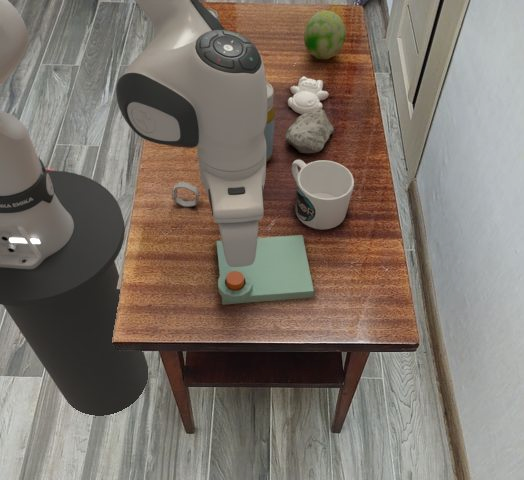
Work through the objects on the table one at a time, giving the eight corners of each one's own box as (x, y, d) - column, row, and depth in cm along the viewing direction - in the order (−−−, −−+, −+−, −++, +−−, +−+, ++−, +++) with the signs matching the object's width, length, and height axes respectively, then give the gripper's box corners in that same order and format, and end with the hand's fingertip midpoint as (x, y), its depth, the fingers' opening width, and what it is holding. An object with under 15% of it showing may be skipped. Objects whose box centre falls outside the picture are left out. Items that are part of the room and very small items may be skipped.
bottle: (277, 150, 116) (281, 84, 103) (263, 170, 112) (266, 105, 100) (248, 140, 117) (248, 74, 104) (233, 160, 114) (232, 94, 101)
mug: (358, 212, 107) (366, 180, 100) (322, 240, 103) (327, 209, 96) (308, 177, 112) (312, 144, 105) (272, 202, 108) (274, 170, 101)
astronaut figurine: (332, 87, 127) (334, 75, 124) (317, 118, 121) (319, 106, 119) (297, 79, 128) (298, 66, 126) (280, 109, 123) (281, 97, 120)
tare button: (227, 291, 93) (227, 285, 91) (225, 277, 94) (225, 271, 93) (244, 289, 93) (244, 284, 92) (243, 275, 95) (243, 270, 93)
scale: (220, 309, 95) (219, 297, 92) (214, 247, 102) (213, 234, 99) (313, 301, 96) (315, 289, 93) (301, 241, 103) (303, 228, 100)
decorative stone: (337, 158, 115) (341, 138, 111) (286, 159, 114) (287, 139, 110) (330, 120, 121) (333, 100, 117) (282, 121, 121) (283, 100, 116)
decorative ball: (343, 46, 136) (350, 4, 127) (340, 70, 131) (347, 27, 122) (303, 42, 136) (307, -1, 128) (299, 65, 131) (303, 23, 123)
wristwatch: (176, 197, 108) (173, 178, 104) (201, 201, 108) (199, 181, 103) (172, 208, 106) (169, 188, 102) (197, 211, 106) (195, 192, 102)
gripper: (203, 116, 77) (210, 191, 89) (214, 224, 67) (219, 292, 78) (248, 114, 77) (248, 188, 89) (265, 220, 67) (263, 288, 79)
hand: (235, 238), depth 84 cm, fingers closed
